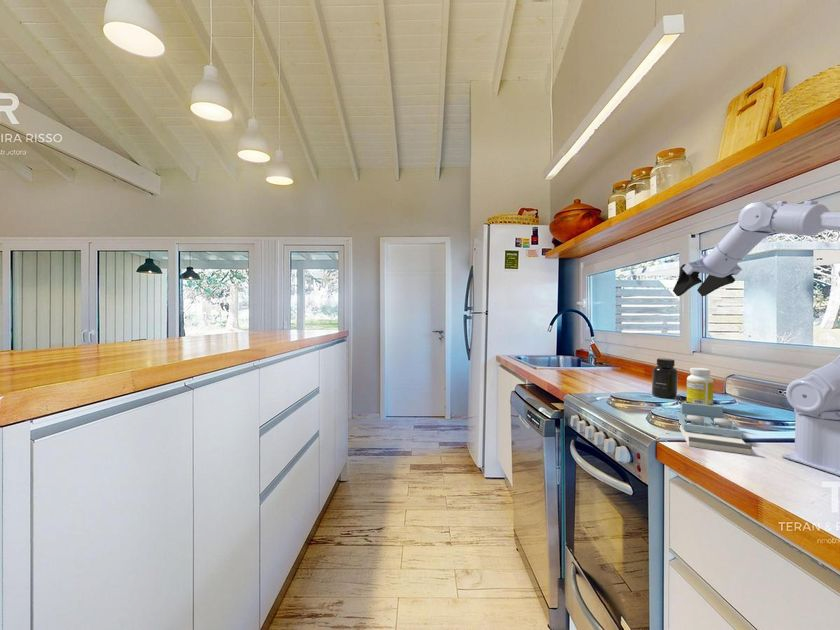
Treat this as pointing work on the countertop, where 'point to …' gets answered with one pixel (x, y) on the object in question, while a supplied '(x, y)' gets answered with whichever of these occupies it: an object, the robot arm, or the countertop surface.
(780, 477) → the countertop surface
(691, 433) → the boss board
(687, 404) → the panel
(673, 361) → the supplement bottle
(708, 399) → the pill bottle
